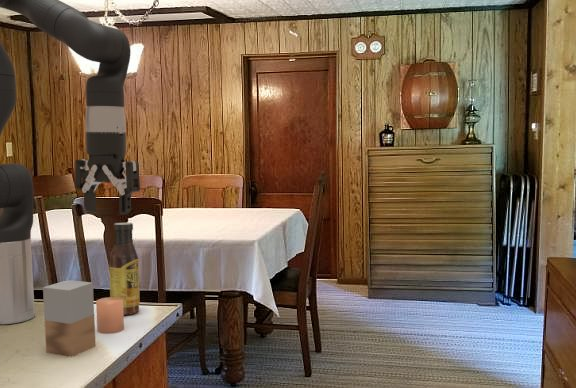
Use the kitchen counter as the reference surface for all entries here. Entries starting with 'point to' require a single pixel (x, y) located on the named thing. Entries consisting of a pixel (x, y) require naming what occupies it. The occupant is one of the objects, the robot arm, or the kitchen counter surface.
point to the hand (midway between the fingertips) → (107, 212)
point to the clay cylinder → (110, 315)
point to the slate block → (68, 301)
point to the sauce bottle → (125, 269)
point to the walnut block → (70, 336)
